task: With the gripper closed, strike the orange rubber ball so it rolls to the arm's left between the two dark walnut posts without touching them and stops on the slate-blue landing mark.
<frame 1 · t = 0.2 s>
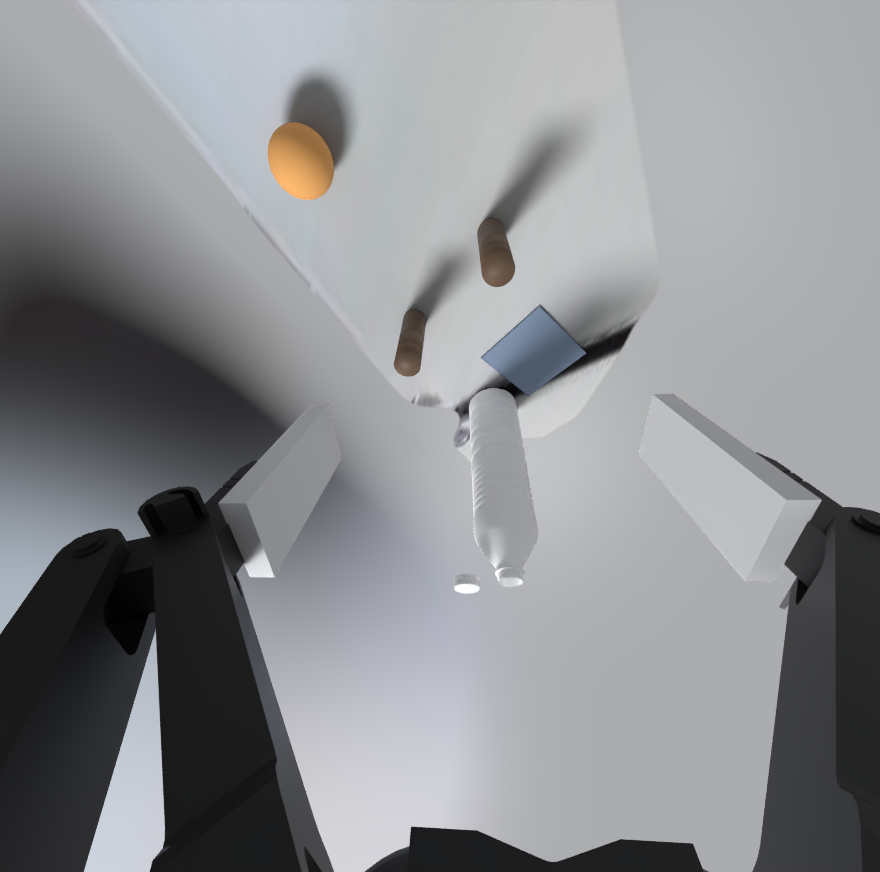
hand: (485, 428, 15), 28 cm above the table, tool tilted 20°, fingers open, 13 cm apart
landing mark: (532, 354, 44), on the table
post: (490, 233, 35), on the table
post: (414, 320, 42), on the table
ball: (301, 163, 29), on the table
water bottle: (484, 406, 51), on the table
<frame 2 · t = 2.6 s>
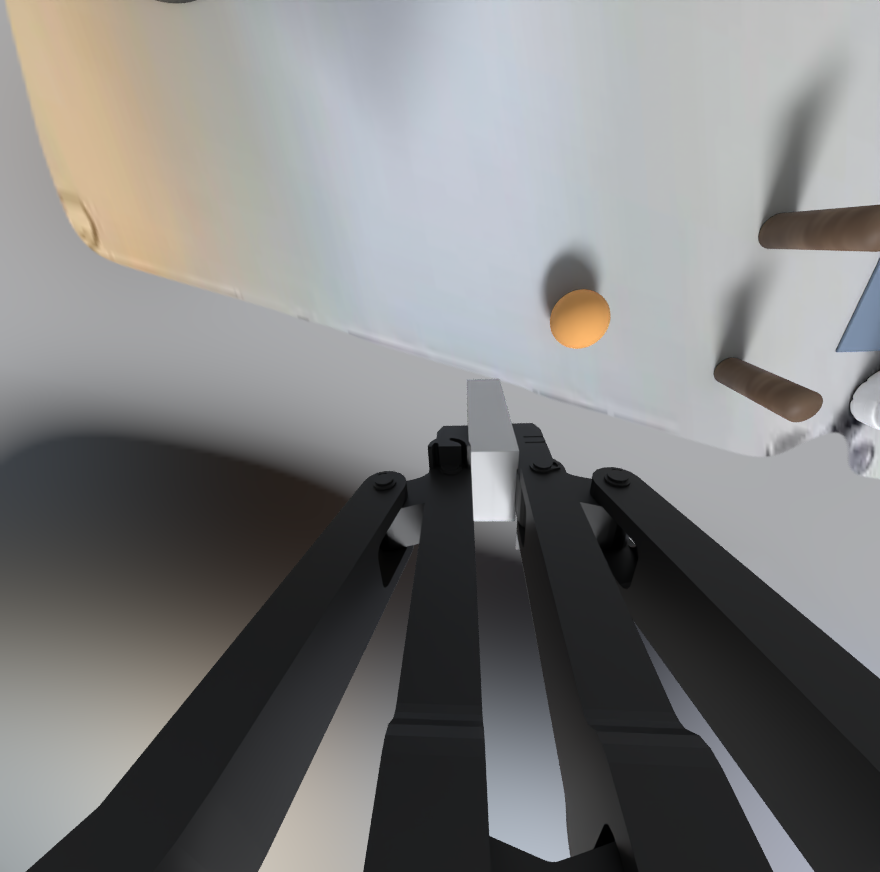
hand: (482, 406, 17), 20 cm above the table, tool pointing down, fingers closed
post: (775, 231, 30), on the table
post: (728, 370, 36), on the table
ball: (579, 319, 32), on the table
water bottle: (873, 401, 37), on the table
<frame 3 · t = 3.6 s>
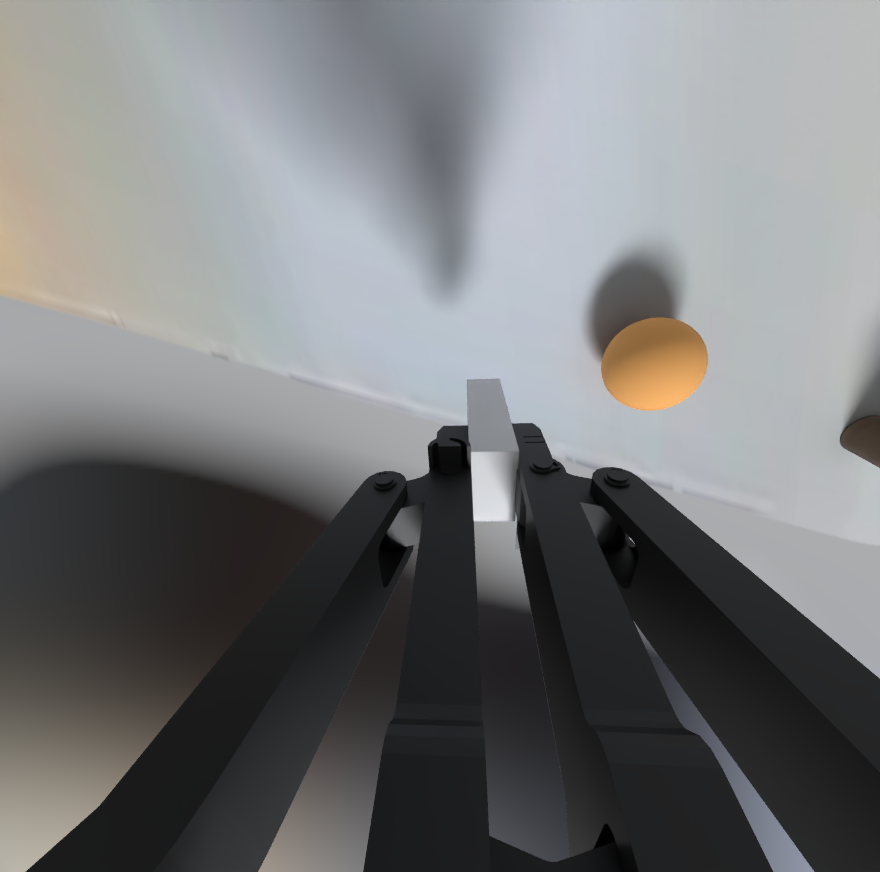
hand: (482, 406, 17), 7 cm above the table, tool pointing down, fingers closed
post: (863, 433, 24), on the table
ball: (651, 365, 20), on the table
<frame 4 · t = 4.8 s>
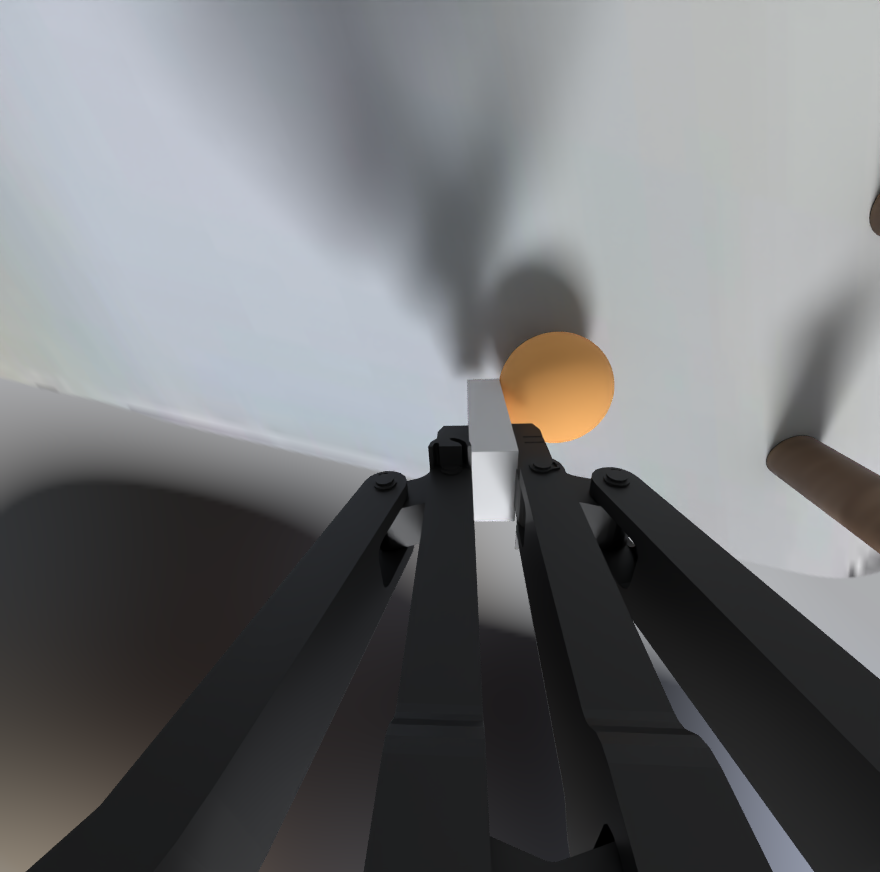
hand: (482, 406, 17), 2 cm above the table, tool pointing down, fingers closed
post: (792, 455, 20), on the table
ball: (553, 388, 16), on the table
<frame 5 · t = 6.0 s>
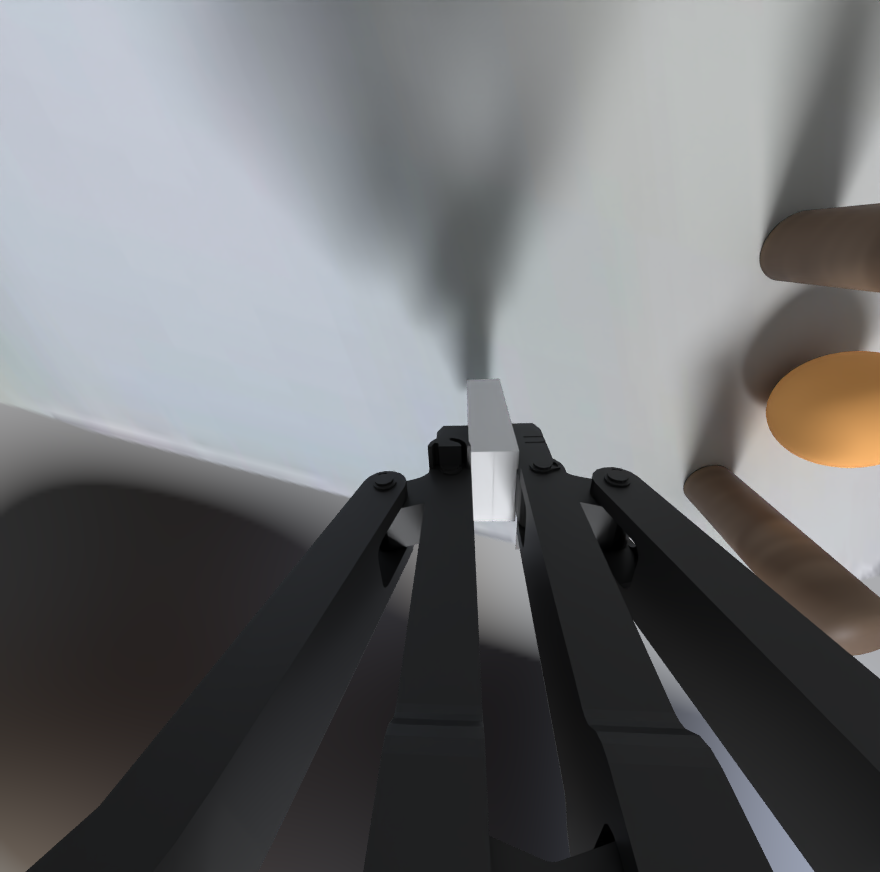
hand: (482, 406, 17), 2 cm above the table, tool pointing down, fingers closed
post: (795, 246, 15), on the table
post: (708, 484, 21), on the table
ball: (843, 410, 16), on the table
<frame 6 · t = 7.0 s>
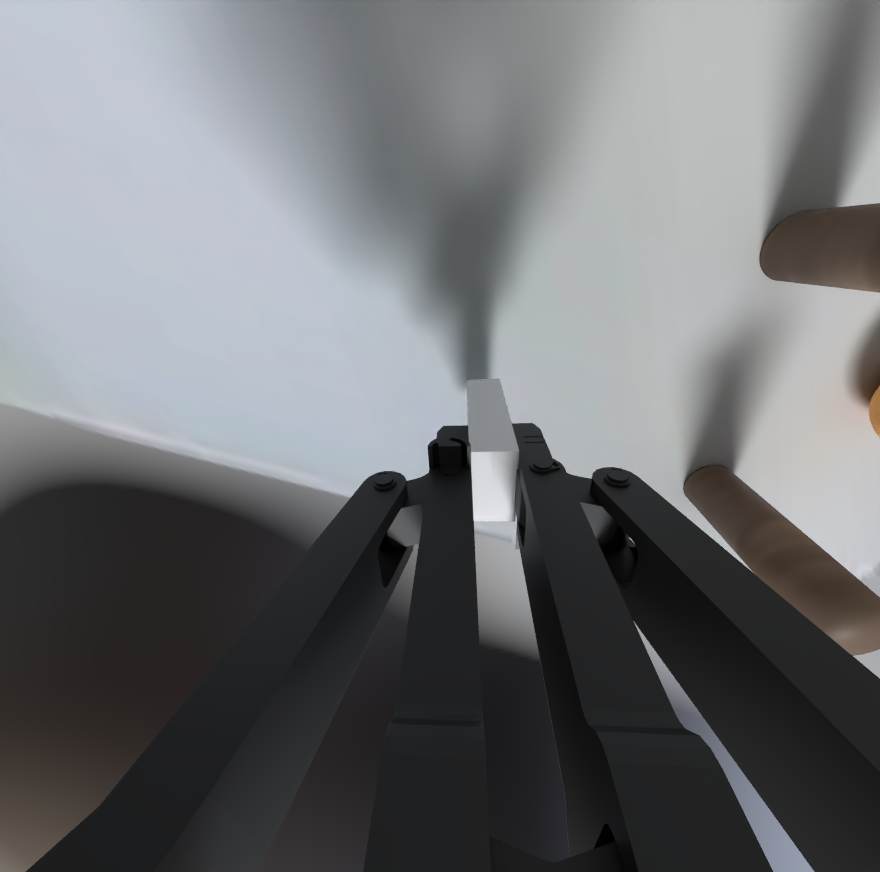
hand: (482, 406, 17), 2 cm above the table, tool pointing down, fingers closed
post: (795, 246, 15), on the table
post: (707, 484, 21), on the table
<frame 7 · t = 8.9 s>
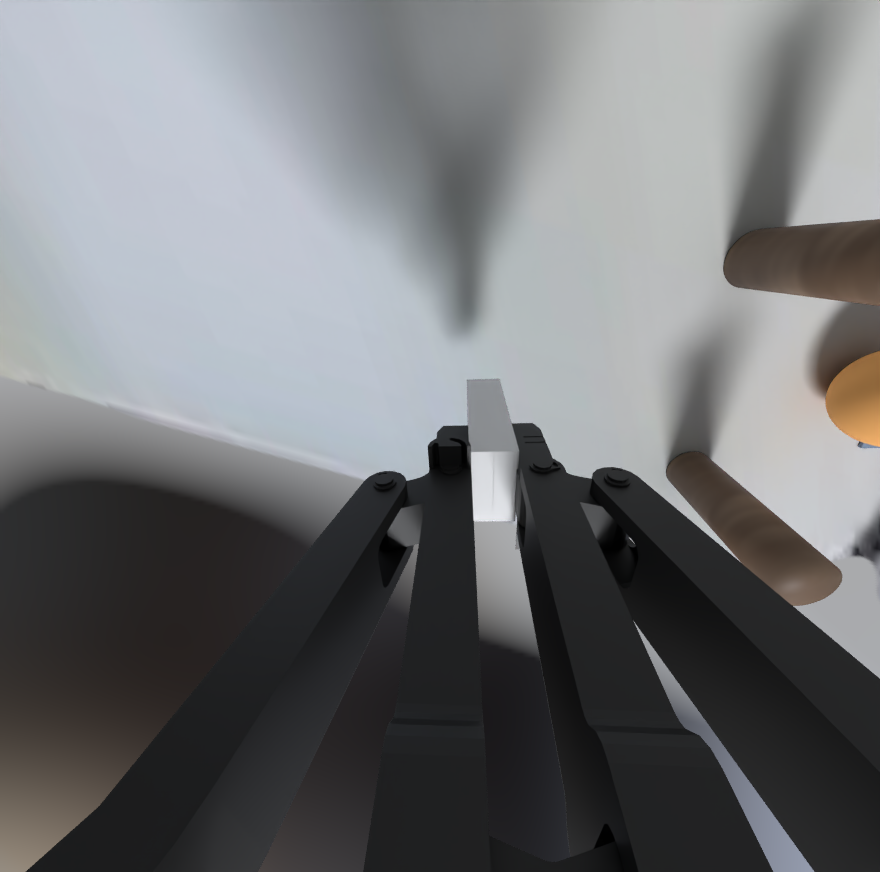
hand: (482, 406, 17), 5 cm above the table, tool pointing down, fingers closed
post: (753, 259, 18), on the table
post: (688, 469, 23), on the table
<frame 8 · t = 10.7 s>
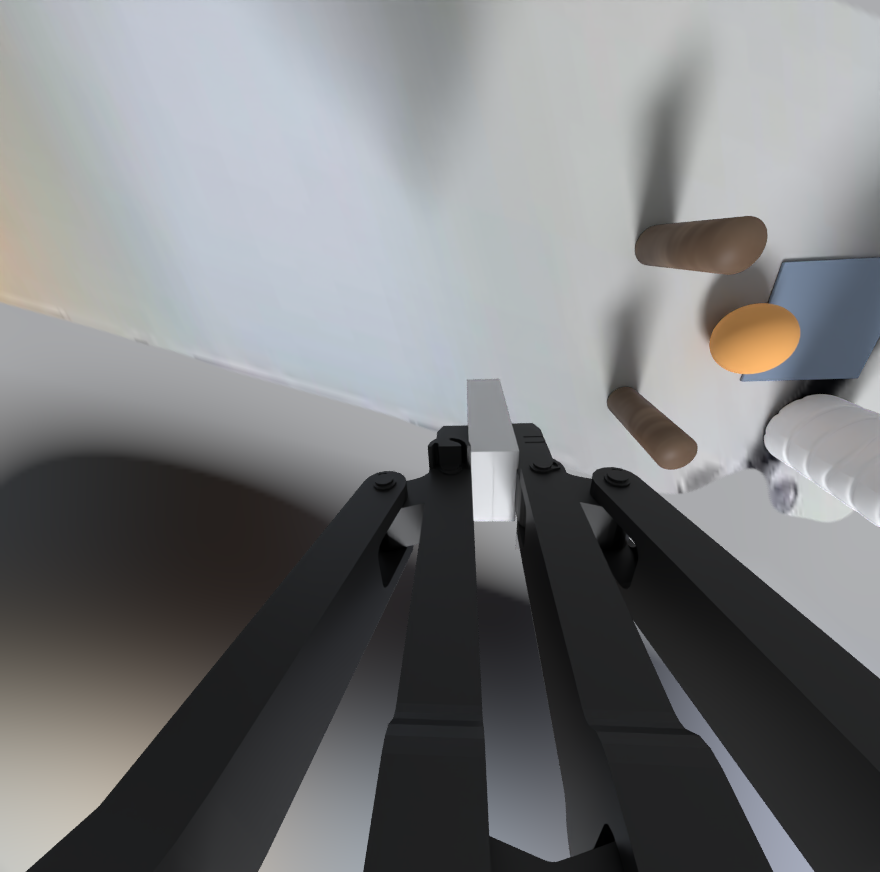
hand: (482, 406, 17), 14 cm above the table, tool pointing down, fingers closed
landing mark: (821, 323, 28), on the table
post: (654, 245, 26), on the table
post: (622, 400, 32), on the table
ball: (752, 339, 26), on the table
water bottle: (790, 435, 33), on the table
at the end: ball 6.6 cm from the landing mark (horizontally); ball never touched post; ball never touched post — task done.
